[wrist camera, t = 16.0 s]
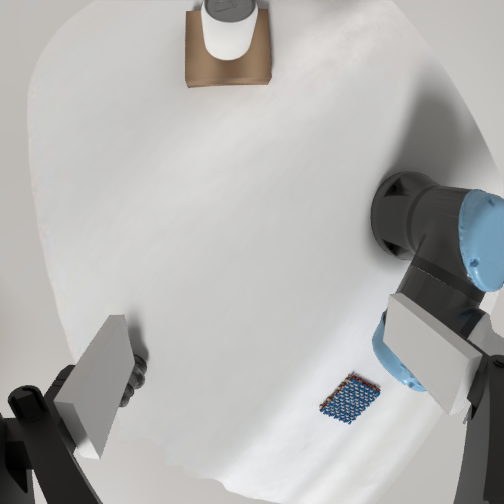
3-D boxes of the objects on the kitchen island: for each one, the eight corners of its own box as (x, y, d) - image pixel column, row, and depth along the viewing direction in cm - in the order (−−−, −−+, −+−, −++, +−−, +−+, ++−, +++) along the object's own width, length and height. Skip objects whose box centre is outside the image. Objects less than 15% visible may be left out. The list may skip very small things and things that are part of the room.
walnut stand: (263, 20, 41) (267, 9, 37) (267, 84, 43) (271, 77, 40) (188, 22, 40) (186, 11, 36) (188, 87, 42) (185, 80, 39)
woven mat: (380, 387, 60) (384, 392, 58) (348, 420, 62) (351, 426, 60) (350, 370, 58) (353, 376, 56) (315, 406, 60) (318, 412, 58)
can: (254, 57, 39) (265, 21, 27) (209, 65, 38) (205, 30, 27) (245, 21, 37) (253, -21, 25) (201, 28, 37) (195, -13, 25)
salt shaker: (112, 361, 52) (92, 401, 41) (133, 347, 52) (115, 387, 40) (133, 382, 54) (118, 424, 42) (154, 369, 53) (142, 412, 42)
